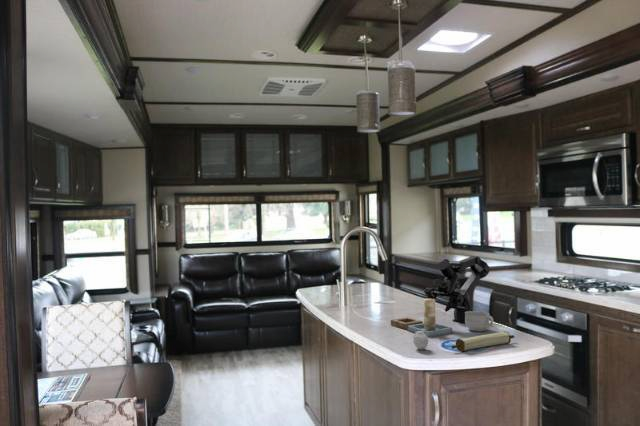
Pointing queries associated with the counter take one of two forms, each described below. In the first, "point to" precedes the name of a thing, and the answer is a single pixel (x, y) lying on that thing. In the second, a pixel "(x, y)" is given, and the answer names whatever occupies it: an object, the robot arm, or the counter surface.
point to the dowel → (429, 315)
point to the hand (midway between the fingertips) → (436, 309)
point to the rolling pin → (482, 341)
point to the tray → (439, 331)
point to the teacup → (477, 320)
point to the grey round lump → (420, 340)
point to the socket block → (405, 322)
